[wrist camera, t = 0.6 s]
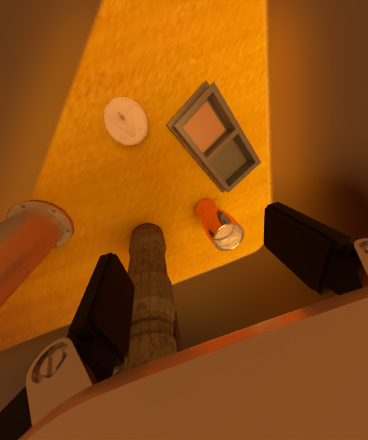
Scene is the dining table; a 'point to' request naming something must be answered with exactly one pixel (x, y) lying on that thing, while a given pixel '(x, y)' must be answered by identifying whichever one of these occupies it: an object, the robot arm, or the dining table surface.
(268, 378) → the robot arm
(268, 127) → the dining table surface
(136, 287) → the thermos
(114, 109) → the smoothie
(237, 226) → the beer glass
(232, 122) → the drink carrier
